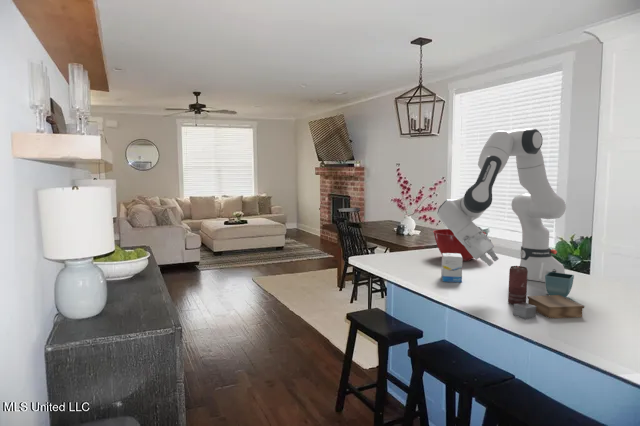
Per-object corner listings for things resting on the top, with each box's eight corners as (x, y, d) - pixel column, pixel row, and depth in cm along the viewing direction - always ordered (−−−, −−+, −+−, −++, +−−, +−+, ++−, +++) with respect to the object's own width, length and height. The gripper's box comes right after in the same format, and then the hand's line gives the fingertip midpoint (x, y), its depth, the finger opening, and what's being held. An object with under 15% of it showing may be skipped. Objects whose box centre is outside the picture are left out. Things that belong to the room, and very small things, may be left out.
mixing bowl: (422, 255, 247) (423, 229, 246) (463, 252, 256) (464, 227, 254) (451, 265, 220) (452, 236, 219) (496, 262, 229) (497, 234, 227)
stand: (558, 305, 155) (559, 295, 155) (583, 317, 143) (584, 305, 142) (526, 306, 154) (527, 296, 154) (548, 318, 142) (549, 307, 141)
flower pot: (548, 292, 172) (549, 271, 171) (573, 296, 166) (574, 274, 165) (543, 297, 165) (544, 275, 164) (569, 302, 159) (570, 279, 159)
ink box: (462, 282, 187) (463, 256, 186) (442, 281, 189) (443, 256, 188) (459, 277, 195) (460, 253, 194) (440, 276, 197) (441, 252, 196)
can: (520, 301, 161) (522, 265, 159) (529, 306, 154) (531, 269, 153) (504, 301, 161) (506, 265, 159) (512, 306, 154) (514, 269, 153)
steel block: (523, 313, 147) (523, 302, 147) (535, 317, 143) (536, 306, 143) (513, 315, 145) (513, 304, 145) (525, 320, 141) (526, 308, 140)
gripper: (468, 233, 155) (494, 262, 151) (481, 226, 172) (506, 253, 168) (455, 243, 158) (481, 272, 154) (469, 236, 175) (493, 262, 170)
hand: (494, 262), depth 161 cm, fingers open, 8 cm apart
